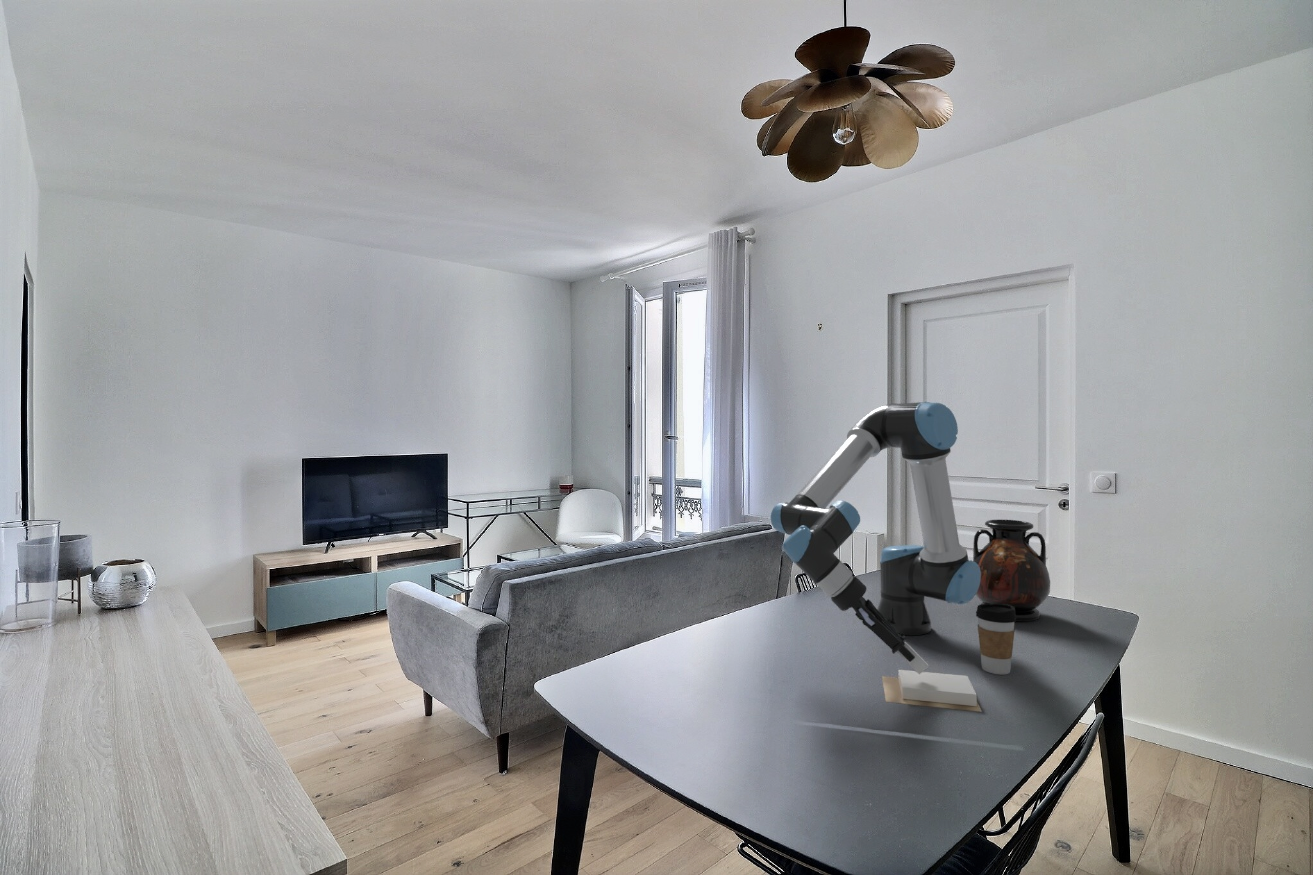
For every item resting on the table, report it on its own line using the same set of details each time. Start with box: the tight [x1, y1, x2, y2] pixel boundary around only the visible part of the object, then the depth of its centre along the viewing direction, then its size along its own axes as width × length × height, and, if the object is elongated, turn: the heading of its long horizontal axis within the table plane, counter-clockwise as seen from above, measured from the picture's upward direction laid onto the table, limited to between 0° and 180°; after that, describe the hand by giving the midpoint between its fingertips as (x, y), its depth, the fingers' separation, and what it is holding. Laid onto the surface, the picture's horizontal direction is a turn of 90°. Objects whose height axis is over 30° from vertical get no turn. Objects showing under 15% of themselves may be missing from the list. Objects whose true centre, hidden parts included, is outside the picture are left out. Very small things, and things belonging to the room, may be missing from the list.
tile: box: [897, 669, 978, 706], centre depth 137 cm, size 3×10×14 cm
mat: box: [881, 675, 983, 713], centre depth 137 cm, size 18×14×1 cm
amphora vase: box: [972, 519, 1051, 622], centre depth 194 cm, size 22×22×28 cm
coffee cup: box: [975, 604, 1017, 676], centre depth 151 cm, size 8×8×15 cm
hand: (923, 669), depth 137 cm, fingers closed
